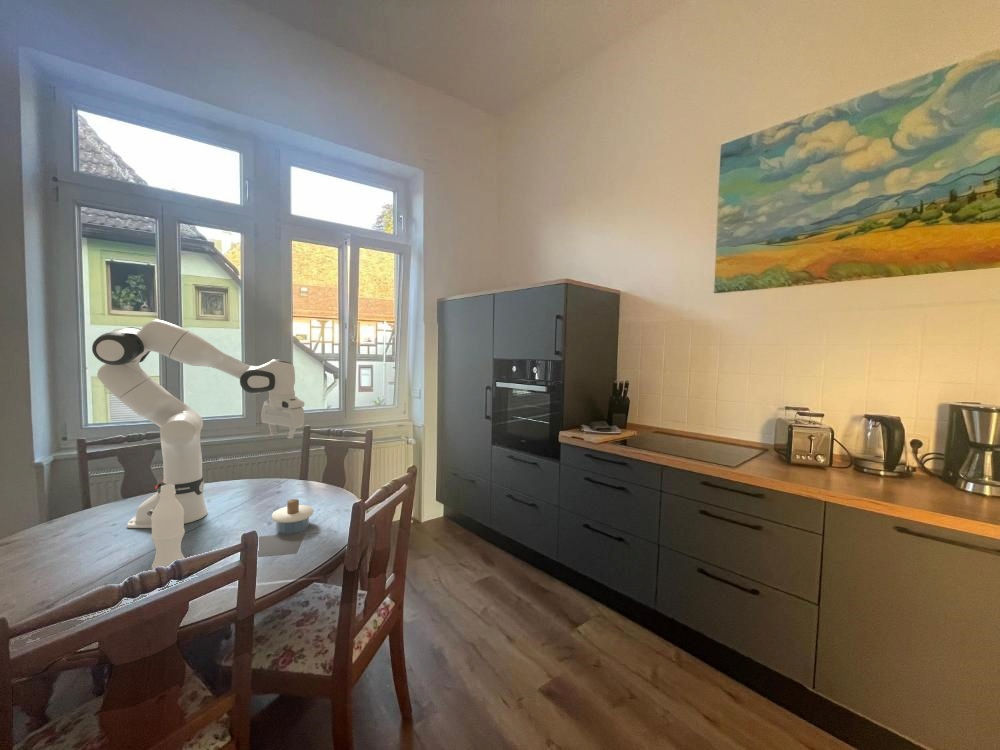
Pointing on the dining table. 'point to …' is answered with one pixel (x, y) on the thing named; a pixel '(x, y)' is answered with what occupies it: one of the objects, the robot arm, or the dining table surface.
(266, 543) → the mat
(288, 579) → the dining table surface
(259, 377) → the robot arm
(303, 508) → the lid
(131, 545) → the dining table surface
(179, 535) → the water bottle
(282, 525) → the bowl
